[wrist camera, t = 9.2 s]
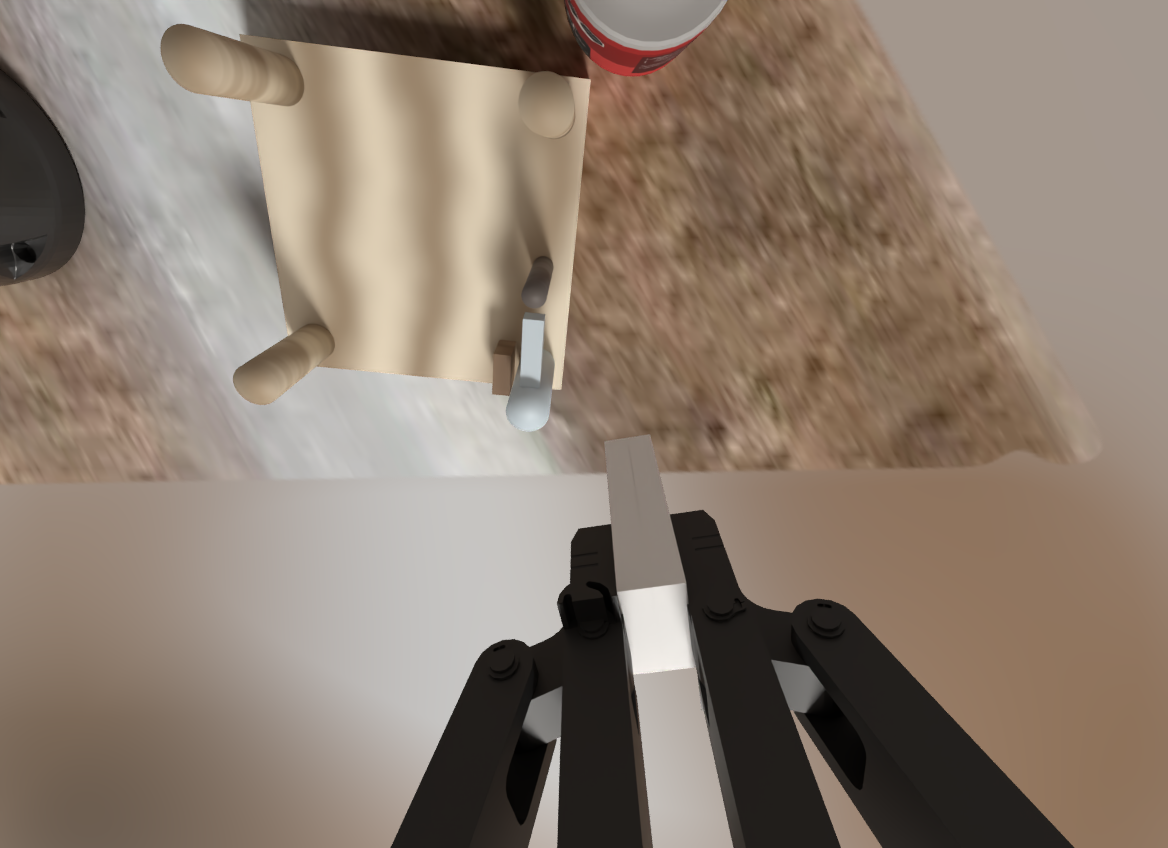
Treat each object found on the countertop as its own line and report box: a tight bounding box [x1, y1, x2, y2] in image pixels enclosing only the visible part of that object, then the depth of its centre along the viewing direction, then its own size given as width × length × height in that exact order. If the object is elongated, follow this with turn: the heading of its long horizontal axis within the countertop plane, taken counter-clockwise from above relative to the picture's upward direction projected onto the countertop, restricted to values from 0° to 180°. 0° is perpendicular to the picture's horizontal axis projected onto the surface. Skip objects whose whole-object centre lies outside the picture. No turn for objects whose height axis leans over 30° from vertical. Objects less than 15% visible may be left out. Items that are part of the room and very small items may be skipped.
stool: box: [161, 24, 591, 405], centre depth 32 cm, size 20×20×10 cm
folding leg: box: [506, 312, 555, 431], centre depth 34 cm, size 3×7×8 cm, turn 175°
